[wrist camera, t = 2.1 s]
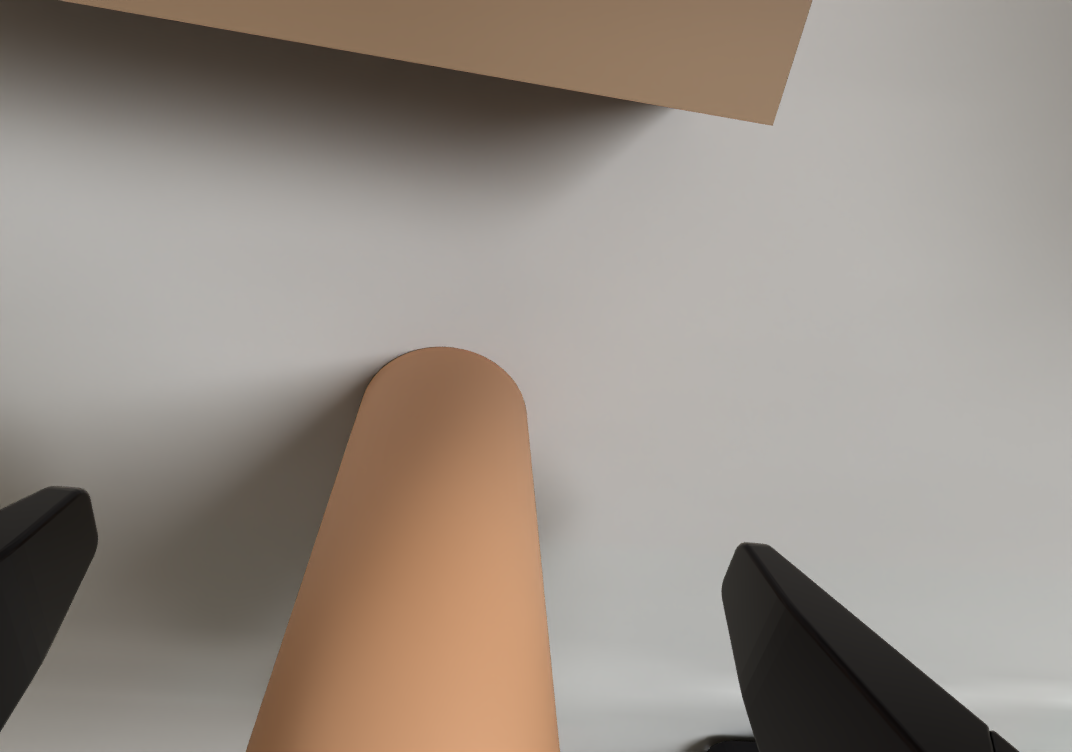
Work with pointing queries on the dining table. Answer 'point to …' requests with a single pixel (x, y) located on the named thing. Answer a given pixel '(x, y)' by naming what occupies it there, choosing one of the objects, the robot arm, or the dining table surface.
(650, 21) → the hole block
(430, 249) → the dining table surface
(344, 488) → the peg
